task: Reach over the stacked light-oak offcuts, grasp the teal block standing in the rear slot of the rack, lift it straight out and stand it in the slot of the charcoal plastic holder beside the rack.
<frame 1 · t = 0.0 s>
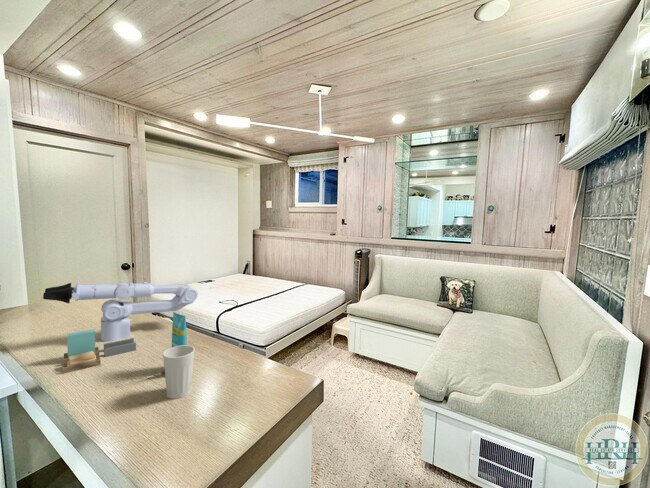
hand: (44, 293, 99), 22 cm above the counter, tool horizontal, fingers open, 7 cm apart
offcut low: (82, 365, 91), point 1 cm above the counter, touching offcut top, rack
cup: (179, 392, 80), on the counter
holder: (119, 352, 102), on the counter
tube: (179, 372, 91), on the counter
rack: (82, 364, 93), on the counter
teal block: (81, 358, 95), point 1 cm above the counter, touching rack
offcut top: (82, 359, 91), point 3 cm above the counter, touching offcut low
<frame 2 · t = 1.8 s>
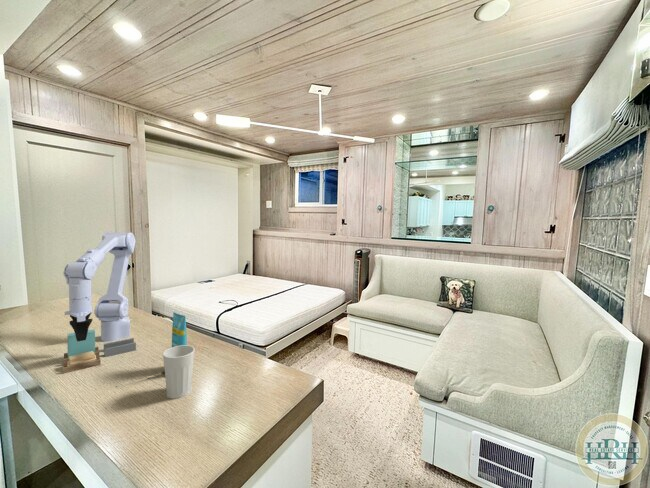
hand: (81, 336, 95), 9 cm above the counter, tool pointing down, fingers open, 7 cm apart
nothing on the counter moved.
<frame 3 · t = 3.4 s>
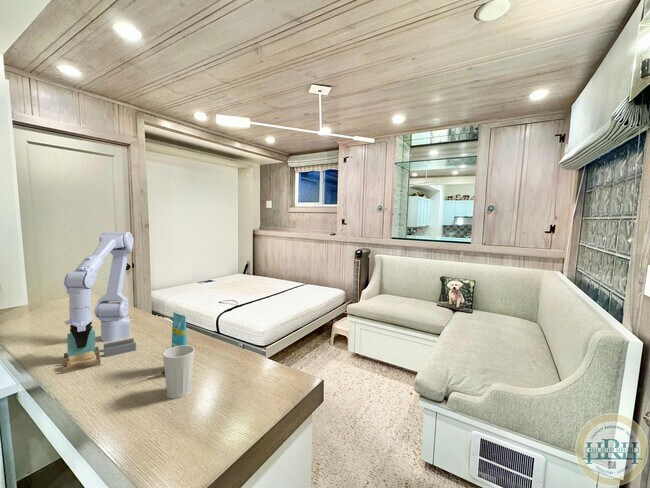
hand: (81, 345, 95), 5 cm above the counter, tool pointing down, fingers closed on teal block, 3 cm apart
teal block: (81, 358, 95), point 1 cm above the counter, touching gripper, rack
everything else where it was.
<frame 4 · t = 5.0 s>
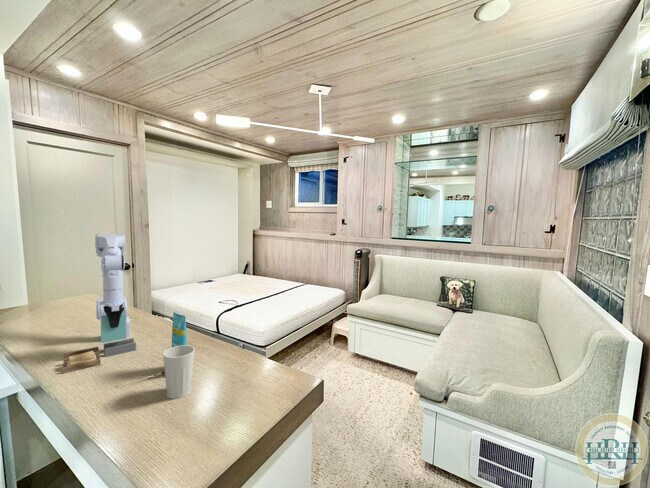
hand: (113, 326, 100), 10 cm above the counter, tool pointing down, fingers closed on teal block, 3 cm apart
teal block: (113, 339, 100), point 6 cm above the counter, touching gripper
everything else where it was.
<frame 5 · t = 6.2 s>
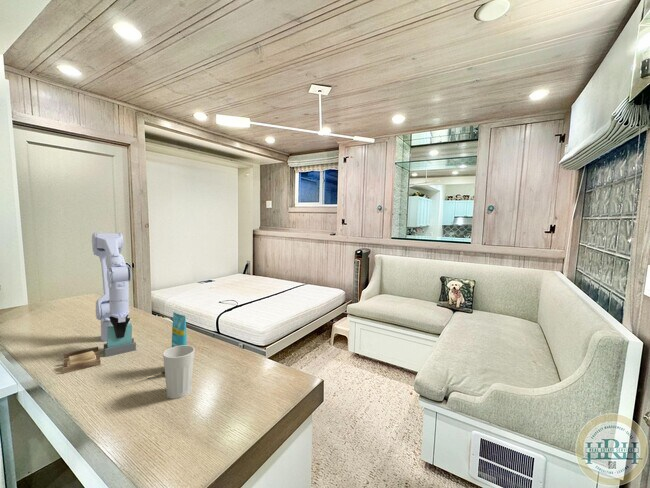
hand: (119, 336, 102), 6 cm above the counter, tool pointing down, fingers closed on teal block, 3 cm apart
teal block: (119, 350, 102), point 1 cm above the counter, touching gripper, holder
everything else where it was.
when the fingers open (6 cm above the counter, at t = 6.6 s): teal block stays where it is, resting on holder.
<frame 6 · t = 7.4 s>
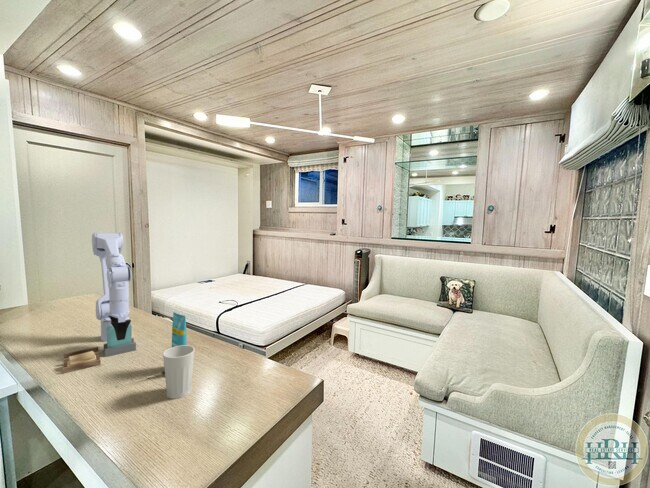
hand: (119, 336, 102), 6 cm above the counter, tool pointing down, fingers open, 7 cm apart
teal block: (119, 350, 102), point 1 cm above the counter, touching holder
everything else where it was.
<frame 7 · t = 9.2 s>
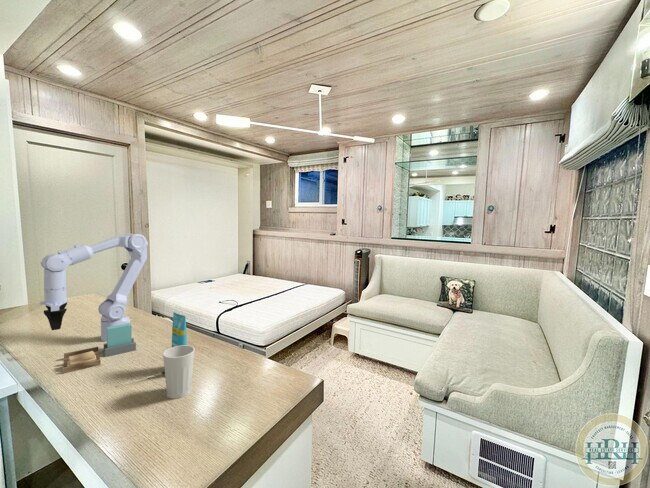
hand: (56, 326, 98), 10 cm above the counter, tool pointing down, fingers open, 7 cm apart
nothing on the counter moved.
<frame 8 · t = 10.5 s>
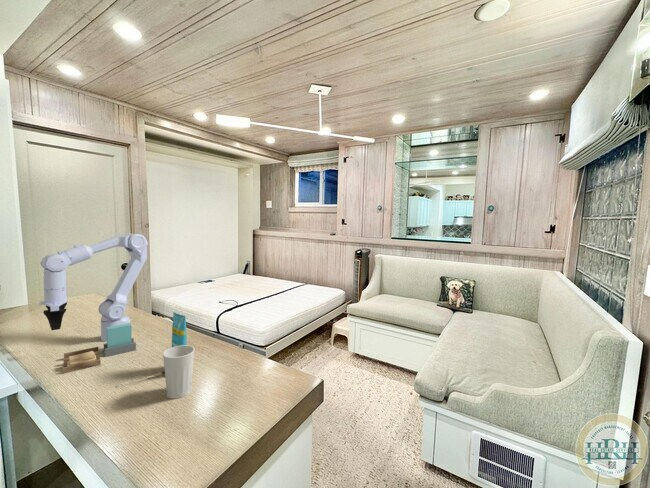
hand: (56, 326, 98), 10 cm above the counter, tool pointing down, fingers open, 7 cm apart
nothing on the counter moved.
at the end: teal block 0.1 cm off-centre on the holder, point 1.0 cm above the holder's base; teal block tilted 0°; offcut top moved 0.0 cm from its start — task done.
